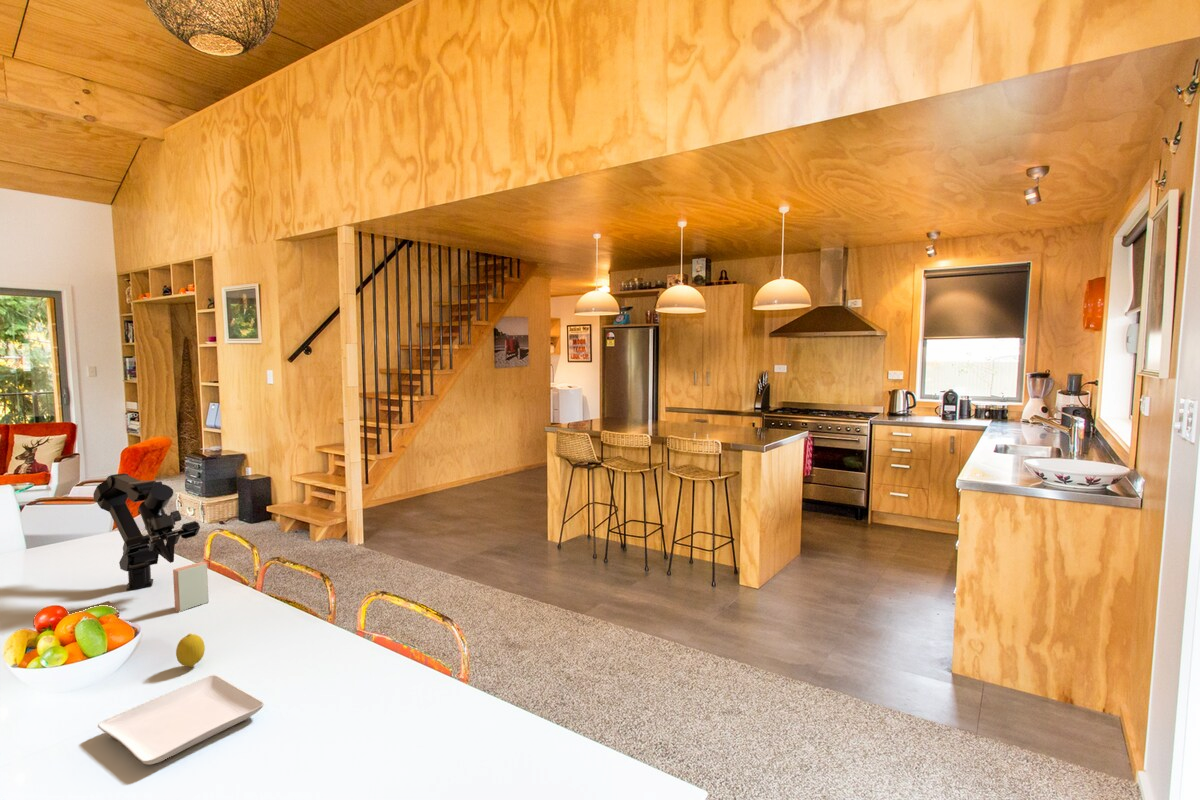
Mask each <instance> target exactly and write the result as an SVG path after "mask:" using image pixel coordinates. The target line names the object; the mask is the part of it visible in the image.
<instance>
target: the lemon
mask: <svg viewBox="0 0 1200 800" xmlns="http://www.w3.org/2000/svg"><path fill="white" fill-rule="evenodd" d="M205 647H206V646H205V642H204V640H203V638H202V637H201V636H200V635H198V634H195V633H187V635H185V636H184V637H182V638H181V639H180V640H179V642H178V643H177V646H176V650H175V656H176V659H177V662H178V663H179V664H180V665H182V666H185V667H188V668H193V667H194V666H195V665H196V664H198V663H199V662H200V661H201V660H202V659H203V657H204V655H205V651H206V649H205Z"/></svg>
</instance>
